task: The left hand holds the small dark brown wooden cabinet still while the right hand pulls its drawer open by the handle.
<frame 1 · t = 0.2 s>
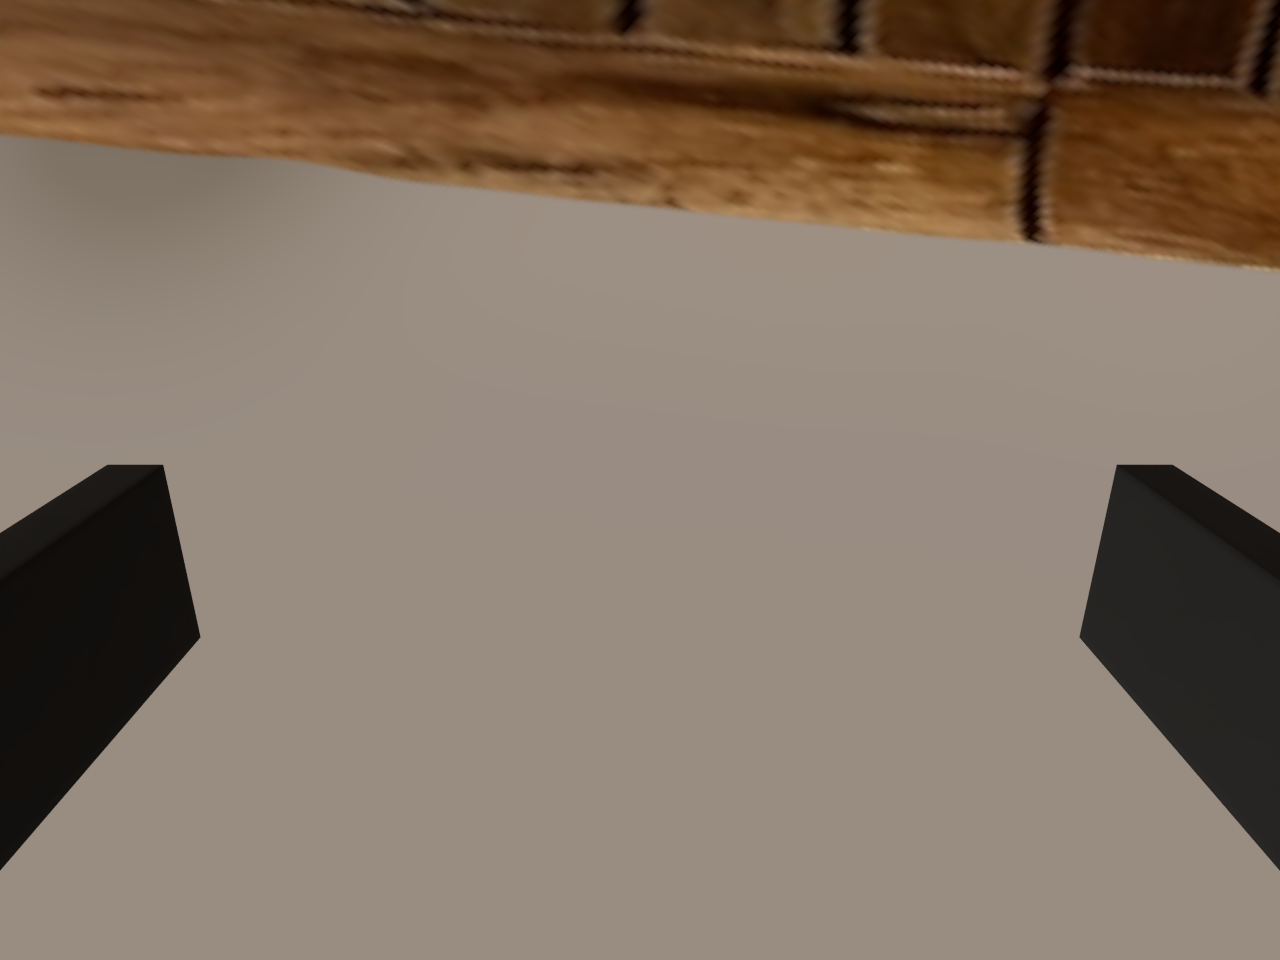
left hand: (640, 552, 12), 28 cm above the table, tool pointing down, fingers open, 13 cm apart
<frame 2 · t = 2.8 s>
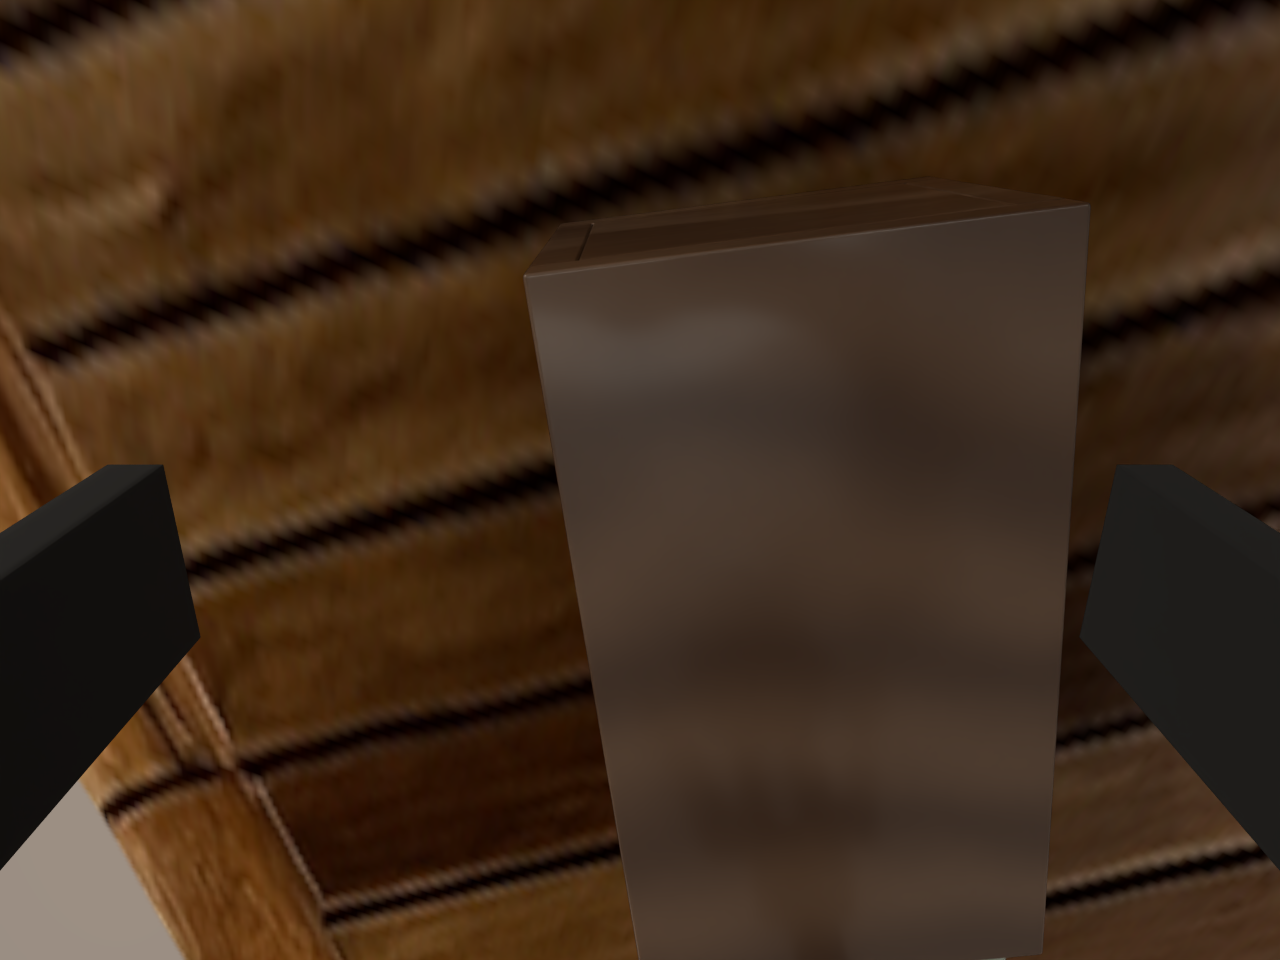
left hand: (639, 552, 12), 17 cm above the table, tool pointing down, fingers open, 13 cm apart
drawer: (800, 719, 28), point 5 cm above the table, slide at 0.7 cm
cabinet: (766, 505, 31), on the table
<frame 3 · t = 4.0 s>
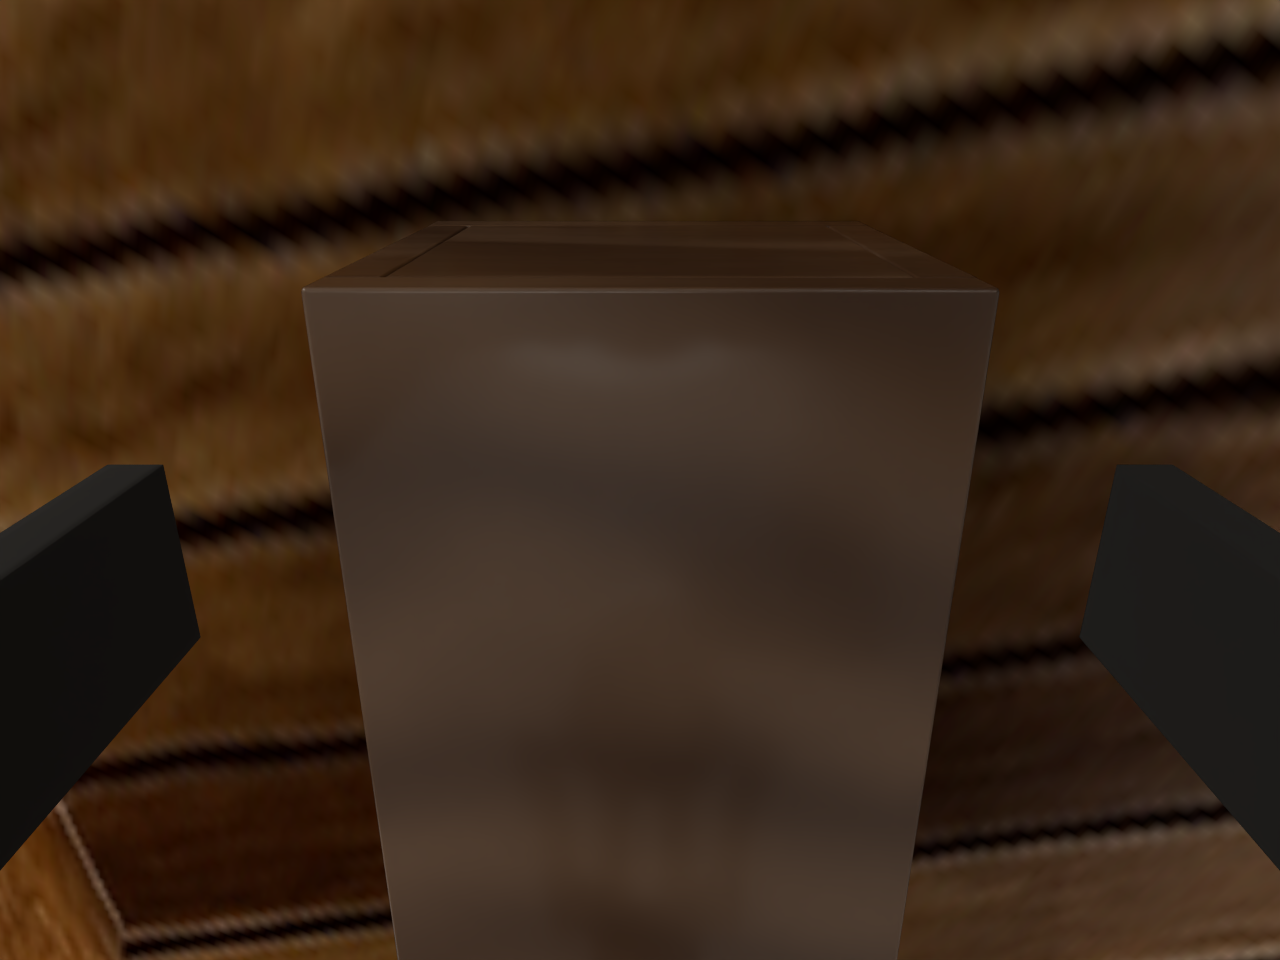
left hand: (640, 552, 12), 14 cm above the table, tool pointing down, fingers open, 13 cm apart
cabinet: (647, 561, 28), on the table
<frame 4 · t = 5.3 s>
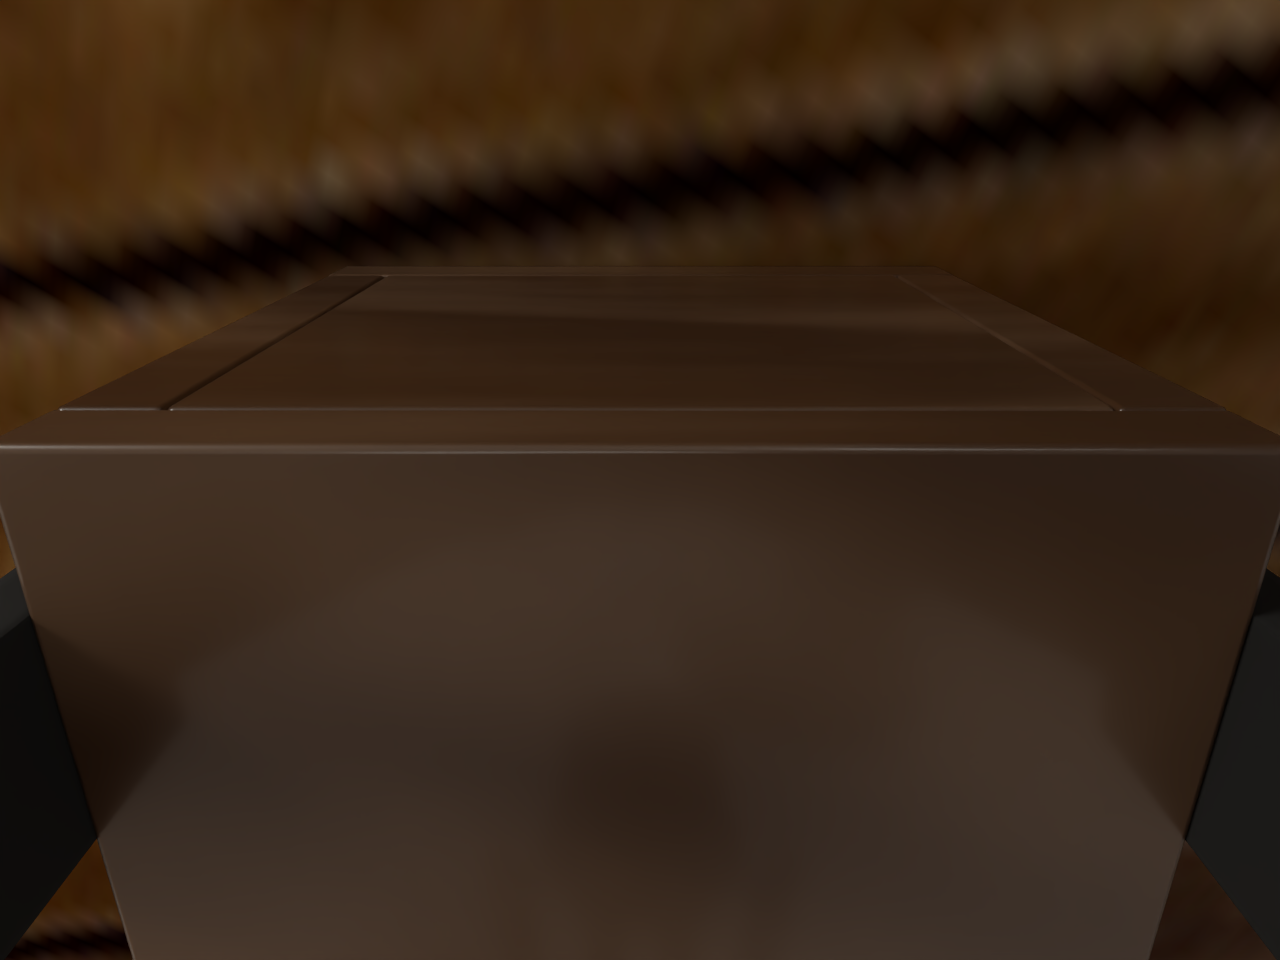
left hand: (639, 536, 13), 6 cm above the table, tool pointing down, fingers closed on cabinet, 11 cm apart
cabinet: (640, 708, 21), on the table, touching left hand
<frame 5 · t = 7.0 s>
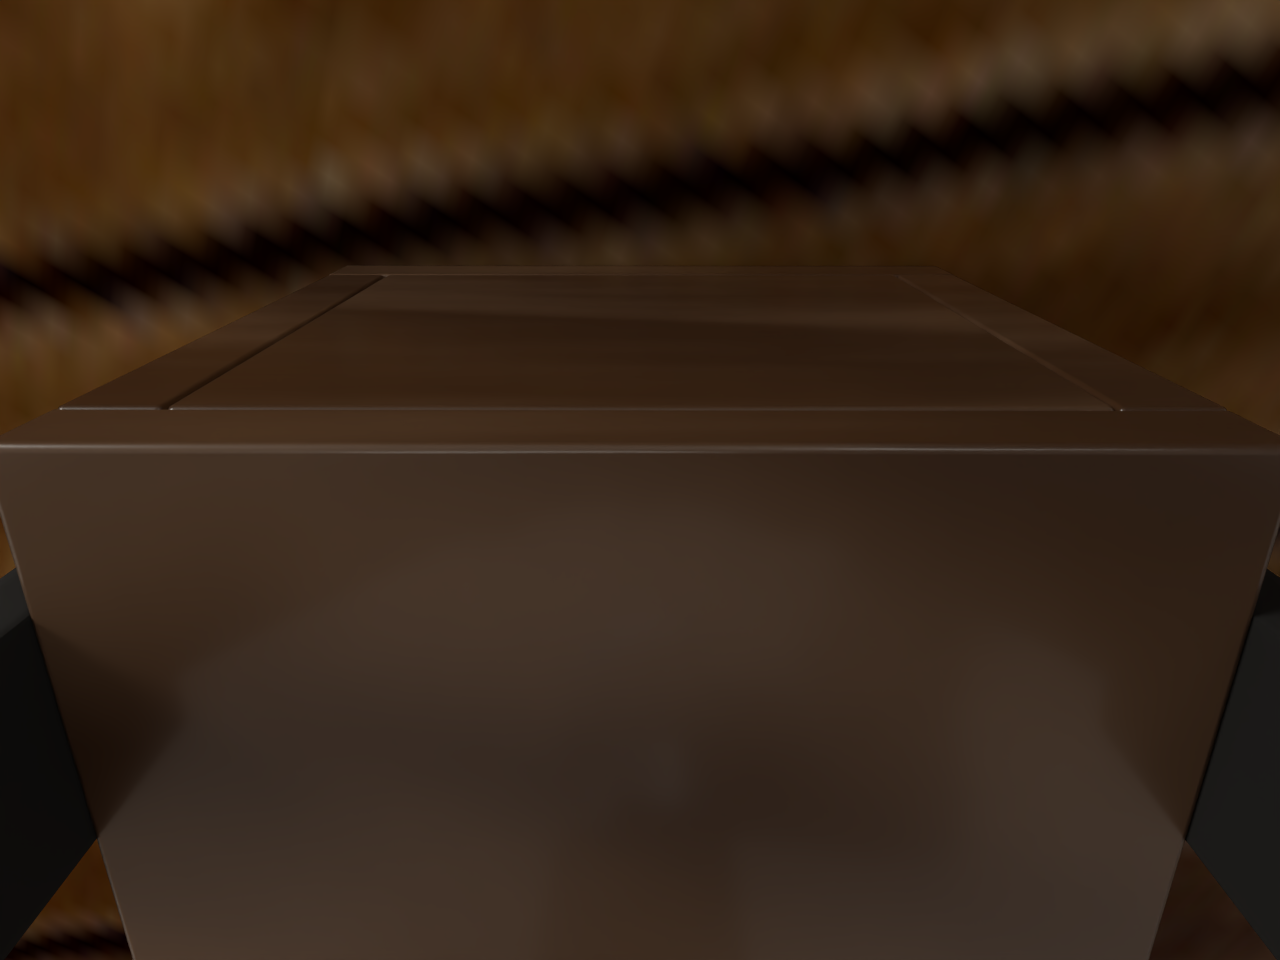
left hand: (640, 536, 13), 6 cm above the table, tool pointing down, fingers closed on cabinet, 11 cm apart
cabinet: (640, 707, 21), on the table, touching left hand
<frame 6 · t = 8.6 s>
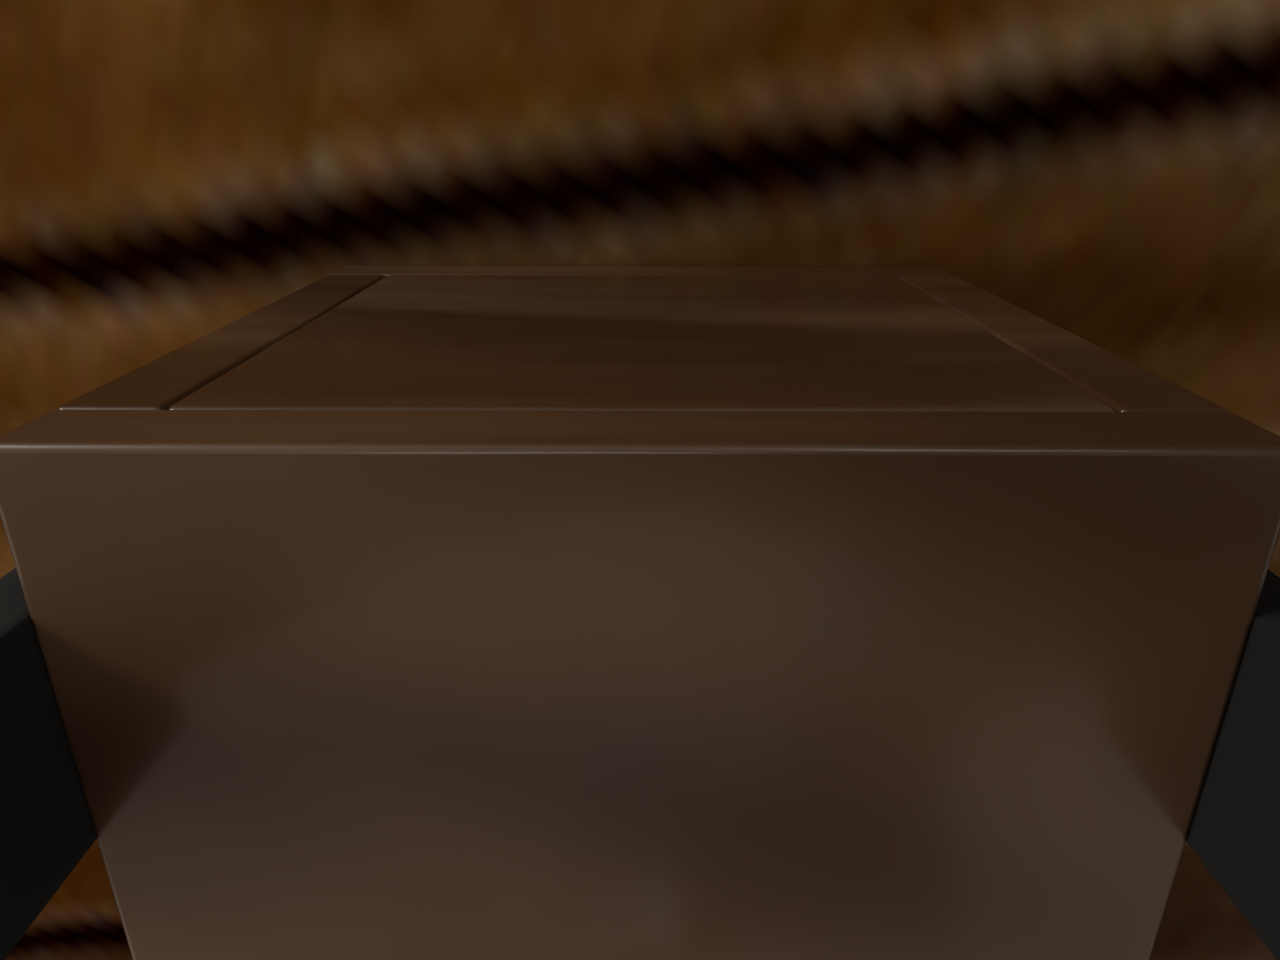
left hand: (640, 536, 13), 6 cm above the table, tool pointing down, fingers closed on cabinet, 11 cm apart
cabinet: (641, 707, 21), on the table, touching left hand
when the left hand's fingers open (6 cm above the table, at t = 10.2 s): cabinet stays where it is, on the table.
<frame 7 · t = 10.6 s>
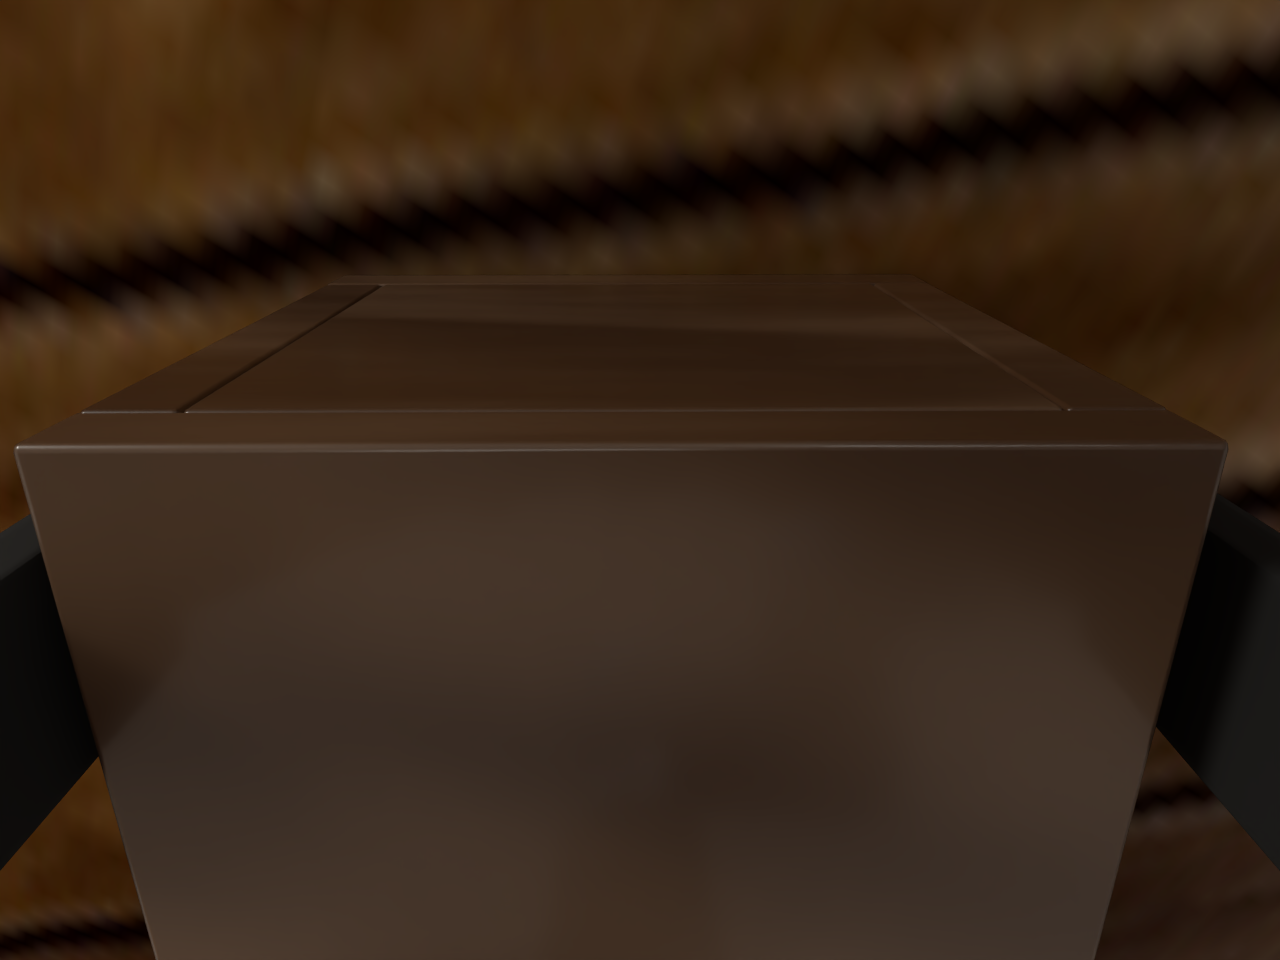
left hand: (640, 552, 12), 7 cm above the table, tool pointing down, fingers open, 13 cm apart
cabinet: (630, 702, 22), on the table
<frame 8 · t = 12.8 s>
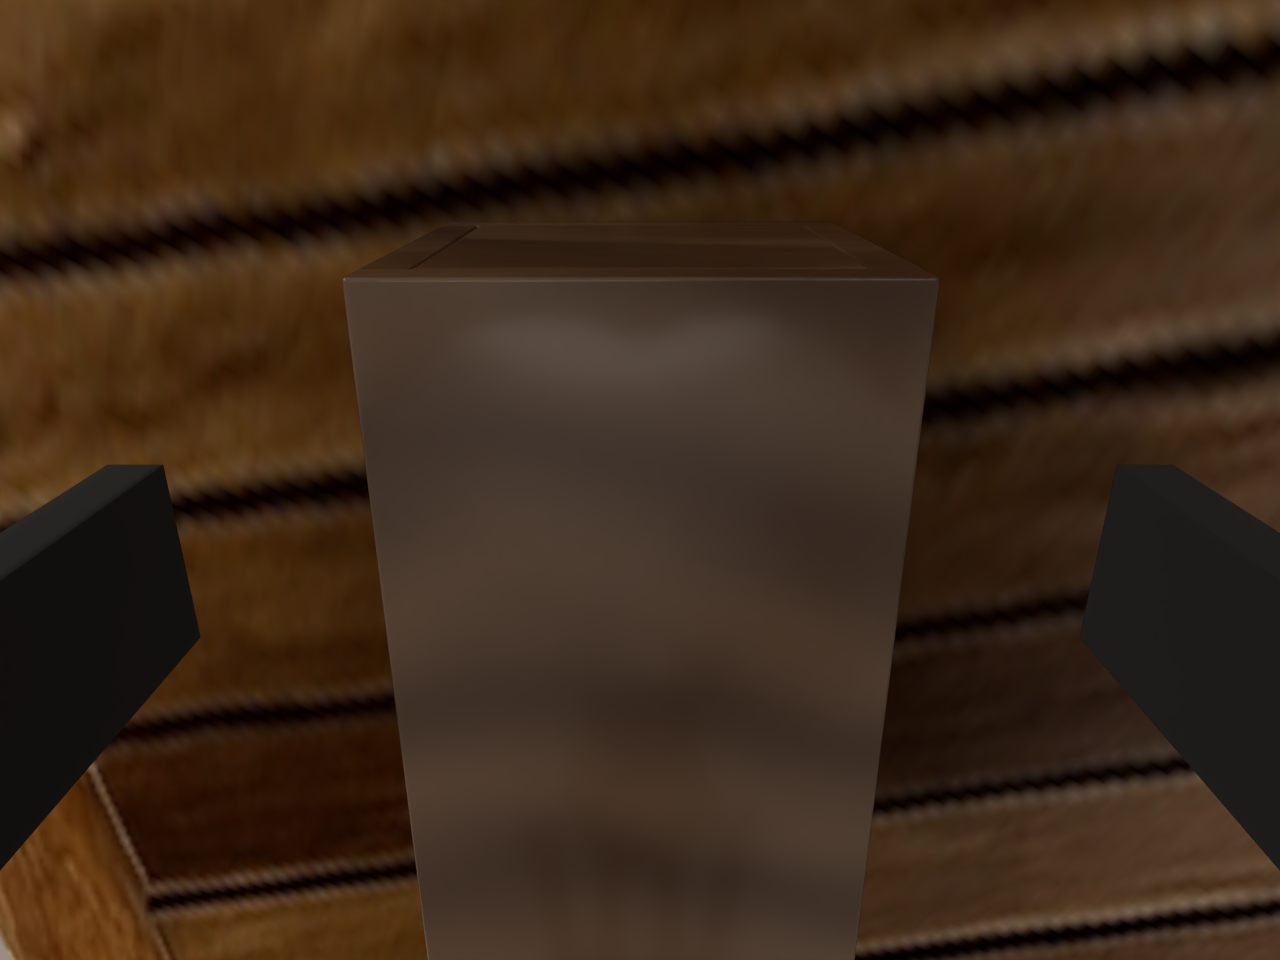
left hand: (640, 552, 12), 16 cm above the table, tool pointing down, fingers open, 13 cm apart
cabinet: (640, 534, 30), on the table
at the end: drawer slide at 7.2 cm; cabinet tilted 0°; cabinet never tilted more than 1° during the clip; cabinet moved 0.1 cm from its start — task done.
